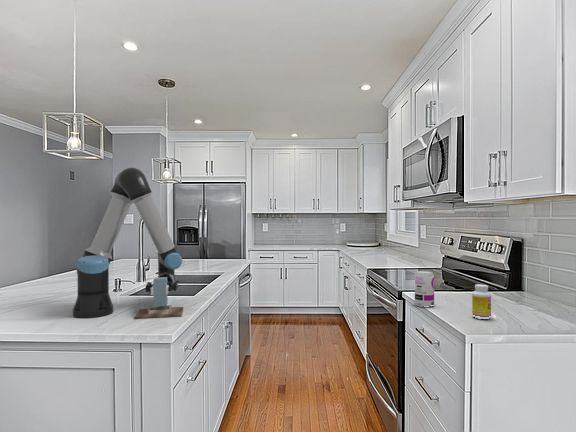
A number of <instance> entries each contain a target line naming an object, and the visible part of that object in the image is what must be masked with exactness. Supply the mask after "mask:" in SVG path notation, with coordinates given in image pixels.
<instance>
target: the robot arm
mask: <svg viewBox="0 0 576 432" xmlns="http://www.w3.org/2000/svg"><path fill="white" fill-rule="evenodd" d="M152 194H153V191H152V190H151V188H150V185H149V183H148V179H147V177H146V175H145V173H144V172H142V171H141V170H140V169H138V168H135V167H128V168H124V169H123V170H122V171H121V172H119V173H118V174H117V175H116V177H115V180H114V183H113V187H112V188H111V191H110V195H111V200H110V202H109V204H108V206H107V209H106V210H105V213H104V215H103V218H102V220H101V223H100V224H99V227H98V230H97V232H96V234H95V236H94V238H93V241H92V243H91V245H90V247H88V248H85V249H84V252H83V254H82V256H81V257H79V258H78V260H77V264H76V274H77V297H76V300H75V303H74V305H73V309H72V317H74V318H79V319H81V318H82V319H84V318H85V319H89V318H99V317H104V316H108V315H110V314H112V313H114V305H113V302H112V299H111V296H110V293H109V288H110V286H109V285H110V281H109V280H110V278H109V274H110V273H109V267H110V264H111V262H112V259H113V257H112V255H111V252H112V250H113V247H114V246H115V243H116V240H117V238H118V236H119V234H120V232H121V229H122V228H123V227H122V226H123V224H124V222H125V220H126V218H127V215H128V212H129V210H130V208H131V206H132V205H135V207H136V209H137V211H138V214H139V215H140V217H141V219H142V221H143V223H144V225H145V228H146V230H147V231H148V234H149V236H150V238H151V240H152V242H153V245H154V246H155V248H156V250H157V264H158V268H157V274H158V275H157V278H159V277H167V286H166V295H167V296H168V295H169V292H172V291H175V292H176V291H177V289H178V288H179V287H180V283H179V280H176V274H175V270H178V269H179V268H180V267H181V266H182V264H183V257H182V256H181V255H180V253H179V252H178V250H177V248H176V247H175V246H176V245H175V243H174V242H173V240H172V238H171V236H170V234H169V231H168V229H167V226H166V225H165V222H164V221H163V218H162V217H161V214H160V212H159V209H158V207H157V205H156V203H155V202H154V200H153V197H152ZM175 280H176V281H175ZM145 293H149V294H150V296H154V288H153V283H152V281H148V282H146V285H145Z"/></svg>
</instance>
